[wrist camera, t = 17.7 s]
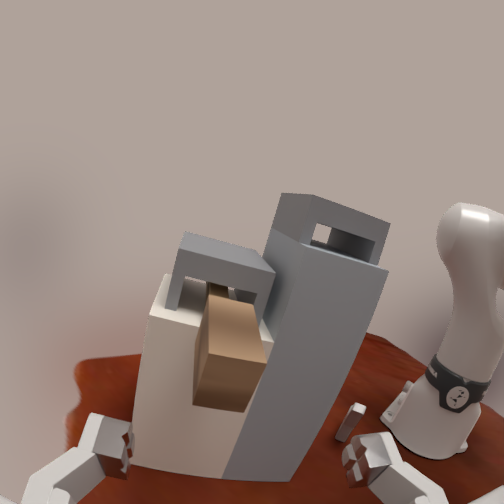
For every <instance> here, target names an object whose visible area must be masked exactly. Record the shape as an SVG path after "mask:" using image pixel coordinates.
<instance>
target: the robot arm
mask: <svg viewBox="0 0 504 504" xmlns="http://www.w3.org/2000/svg"><path fill="white" fill-rule="evenodd" d="M436 239H437V248H438V252H439V255H440V257H441V259H442V261H443V262H444V264H445V266H446V268H447V270H448V272H449V275H450V278H451V281H452V285H453V294H454V304H453V312H452V316H451V319H450V322H449V326H448V328H447V332H446V334H445V337H444V340H443V342H442V344H441V346H440V349H439V351H438V353H437V354H435V355H434V357H433V359H432V360H431V361H430V363H429V365H428V367H427V369H426V371H425V374H424V375H422V376H421V377H420V378H419V379H418V380H417V381H416V382H415V384H413V383H412V382H410V381H407V382H406V384H405V386H404V388H403V390H402V391H403V392H401V393H400V395H399V396H398V397H397V398H396V399H395V400H394V402H393V403H392V404H391V405H390V406H389V407H388V408H387V410H386V411H385V412H384V413H383V414H382V415H381V417H380V420H381V421H382V422H383V423H384V424H385V425H386V426H388V427H389V428H390V429H391V431H392V432H393V434H394V436H395V437H396V438H397V439H398V441H399V442H400V443H402V444H403V445H404V446H405V447H406V448H408V449H409V450H411V451H413V452H414V453H416V454H419V455H421V456H424V457H427V458H431V459H446V458H449V457H451V456H452V455H454V454H455V453H461V452H465V451H466V449H467V447H468V445H467V442H466V439H467V437H468V435H469V434H470V432H471V430H472V429H473V427H474V425H475V423H476V421H477V420H478V418H479V416H480V414H481V409H480V405H479V402H480V401H481V400H482V398H483V397H484V395H485V394H486V392H487V390H488V387H489V385H490V383H491V379H490V378H491V376H492V374H493V372H494V370H495V368H496V366H497V364H498V362H499V360H500V358H501V356H502V354H503V351H504V320H503V318H502V317H501V315H500V314H499V313H498V311H497V310H496V301H495V300H496V292H497V288H500V289H502V290H504V215H503V214H500V213H498V212H496V211H494V210H491V209H489V208H486V207H484V206H479V205H474V204H467V203H460V202H459V203H456V204H455V205H453V206H452V207H450V208H449V209H448V210H447V211H446V213H445V214H444V215H443V217H442V219H441V221H440V223H439V226H438V230H437V237H436ZM132 430H133V425H132V422H128V421H123V420H119V419H114V418H110V417H106V416H103V415H99V414H95V413H91V414H90V415H89V417H88V419H87V422H86V425H85V427H84V430H83V433H82V436H81V439H80V442H79V444H78V447H77V448H76V447H73V448H71V449H70V450H68V451H67V452H66V453H64V454H63V455H61V456H60V457H58V458H57V459H55V460H54V461H52V462H51V463H49V464H48V465H46V466H45V467H44V468H42V469H40V470H39V471H37V472H36V473H34V474H33V475H31V476H30V478H29V481H28V484H27V487H26V490H25V492H24V495H23V498H22V501H21V504H77V502H79V501H80V500H81V499H82V498H83V497H84V496H85V495H86V494H88V493H89V492H90V491H91V490H92V489H93V488H94V487H95V486H96V485H97V484H98V483H100V482H101V481H102V480H103V479H104V478H105V477H106V476H109V477H114V478H118V479H123V480H128V477H129V472H130V468H131V465H130V461H129V459H130V458H131V457H132V456H133V453H134V446H135V436H134V433H132ZM342 463H343V467H344V468H346V469H347V470H348V472H347V474H346V478H347V481H348V485H349V488H357V487H364V486H368V488H369V489H370V490H371V491H372V492H373V493H374V494H375V495H376V496H377V497H378V498H379V499H380V500H381V501H382V502H383V503H384V504H449V503H448V501H447V498H446V496H445V493H444V491H443V489H442V488H441V487H440V486H438V485H437V484H435V483H434V482H433V481H431V480H430V479H428V478H427V477H426V476H424V475H423V474H422V473H420V472H419V471H418V470H416V469H415V468H414V467H412V466H411V465H410V464H408V463H407V462H403V461H402V458H401V456H400V454H399V451H398V449H397V447H396V444H395V442H394V440H393V437H392V435H391V434H390V433H389V432H381V433H372V434H364V435H356V436H354V437H353V438H352V439H351V444H349V445H347V446H346V447H345V449H344V450H343V453H342ZM0 504H18V503H16V502H14V501H12V500H10V499H8V498H6V497H4V496H2V495H0ZM468 504H504V485H503V486H500V487H498V488H497V489H495V490H493V491H491V492H489V493H488V494H486V495H484V496H482V497H480V498H478V499H476V500H474V501H472V502H470V503H468Z"/></svg>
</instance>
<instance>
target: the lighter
mask: <svg viewBox="0 0 504 504" xmlns="http://www.w3.org/2000/svg"><path fill="white" fill-rule="evenodd" d="M365 410H366V406H364V405H361V404H359V403H355V404H354V405H351V407H350V409H349V411H348V413H347V415H346V416H345V418H344V420H343V422H342V424H341V425H340V428H339V430H338V432H337V434H336V436H335V439H337V440H339V441H342V442H345V441H346V440H347V438H348V436H349V435H350V433H351V431H352V430H353V428H355V426H356V425H357V424H358V422H359V421H360V419H361V418H362V416H363V414H364V412H365Z"/></svg>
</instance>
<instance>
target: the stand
mask: <svg viewBox="0 0 504 504" xmlns="http://www.w3.org/2000/svg"><path fill="white" fill-rule="evenodd" d="M316 223H319V224H322V225H325V226H328V227H331V228H332V229H331V233H330V236H329V239H328V242H327V244H325V243H322V242H319V241H315V240H312V236H313V233H314V230H315V226H316ZM389 227H390V223H388V222H385V221H383V220H380V219H378V218H375V217H373V216H370V215H367V214H365V213H362V212H359V211H357V210H354V209H351V208H349V207H346V206H343V205H340V204H338V203H335V202H332V201H329V200H326V199H324V198H321V197H318V196H315V195H308V194H292V193H282V194H281V197H280V201H279V204H278V207H277V210H276V214H275V217H274V220H273V224H272V227H271V230H270V234H269V237H268V240H267V244H266V247H265V250H264V253H263V257H261V256H260V255H259V254H258V253H257V252H256V251H255V250H253V249H249V248H245V247H242V246H238V245H234V244H230V243H227V242H223V241H219V240H215V239H212V238H208V237H204V236H201V235H197V234H193V233H189V232H185V233H184V235H183V238H182V241H181V244H180V246H179V249H178V253H177V257H176V261H175V265H174V269H173V274H172V275H169V274H165V275H164V277H163V280H162V283H161V285H160V288H159V291H158V293H157V296H156V298H155V301H154V303H153V306H152V308H151V311H150V314H149V318H148V323H147V328H146V334H145V339H144V345H143V351H142V356H141V362H140V368H139V375H138V381H137V388H136V395H135V403H134V410H133V418H132V425H133V430H132V433H134V436H135V446H134V453H133V456H132V457H131V458H130V459H129V461H130V464H134V465H138V466H142V467H147V468H152V469H157V470H162V471H167V472H173V473H179V474H186V475H193V476H200V477H209V478H218V479H229V480H244V481H272V482H289V481H290V479H291V478H292V476H293V474H294V473H295V471H296V470H297V468H298V466H299V465H300V463H301V461H302V460H303V458H304V456H305V455H306V453H307V451H308V450H309V448H310V446H311V444H312V443H313V441H314V439H315V437H316V435H317V434H318V432H319V430H320V428H321V426H322V424H323V423H324V421H325V419H326V417H327V415H328V413H329V411H330V409H331V407H332V405H333V403H334V401H335V399H336V397H337V395H338V393H339V391H340V389H341V387H342V385H343V383H344V381H345V379H346V377H347V375H348V372H349V370H350V368H351V366H352V364H353V362H354V359H355V357H356V355H357V352H358V350H359V348H360V346H361V343H362V341H363V338H364V336H365V334H366V331H367V329H368V326H369V324H370V321H371V319H372V316H373V314H374V311H375V309H376V306H377V303H378V301H379V298H380V295H381V293H382V290H383V287H384V284H385V281H386V278H387V275H388V273H389V271H388V270H385V269H383V268H381V267H379V266H377V265H378V262H379V259H380V256H381V253H382V250H383V247H384V244H385V240H386V237H387V234H388V230H389ZM185 276H188V277H192V278H196V279H200V280H204V281H208V282H212V283H216V284H220V285H224V286H228V287H232V288H235V289H234V291H233V290H229V289H228V293H229V299H230V300H235V301H239V302H244V303H248V304H252V305H253V306H254V311H255V315H256V319H257V323H258V327H259V331H260V336H261V340H262V344H263V348H264V352H265V356H266V360H267V365H266V367H265V370H264V372H263V374H262V376H261V378H260V380H259V382H258V385H257V387H256V389H255V391H254V393H253V395H252V397H251V399H250V401H249V403H248V406H247V408H246V410H245V412H244V413H240V412H232V411H225V410H218V409H212V408H206V407H200V406H194V405H192V395H193V371H194V351H195V341H196V337H197V333H198V330H199V326H200V323H201V320H202V316H203V313H204V309H205V303H206V284H204V283H200V282H196V281H192V280H188V279H185Z"/></svg>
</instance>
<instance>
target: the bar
mask: <svg viewBox="0 0 504 504" xmlns="http://www.w3.org/2000/svg"><path fill="white" fill-rule="evenodd" d="M266 365H267V360H266V356H265V352H264V348H263V344H262V340H261V336H260V331H259V327H258V323H257V319H256V315H255V311H254V306H253V305H252V304H248V303H244V302H239V301H235V300H230V299H229V293H228V286H224V285H220V284H216V283H212V282H208V281H206V303H205V309H204V313H203V316H202V320H201V323H200V326H199V330H198V333H197V337H196V341H195V351H194V371H193V395H192V405H194V406H200V407H206V408H212V409H218V410H225V411H232V412H240V413H244V412H245V410H246V408H247V406H248V403H249V401H250V399H251V397H252V395H253V393H254V391H255V389H256V387H257V385H258V382H259V380H260V378H261V376H262V374H263V372H264V370H265V367H266Z"/></svg>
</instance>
